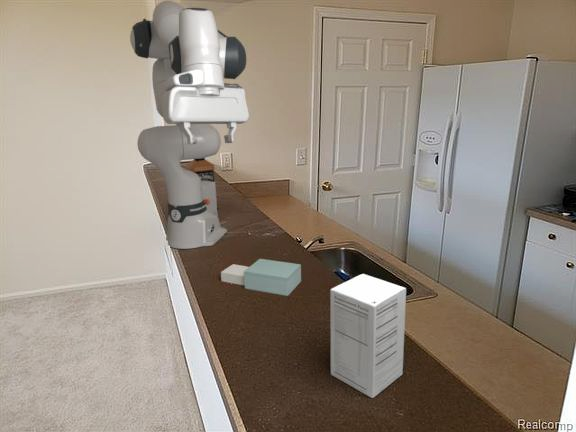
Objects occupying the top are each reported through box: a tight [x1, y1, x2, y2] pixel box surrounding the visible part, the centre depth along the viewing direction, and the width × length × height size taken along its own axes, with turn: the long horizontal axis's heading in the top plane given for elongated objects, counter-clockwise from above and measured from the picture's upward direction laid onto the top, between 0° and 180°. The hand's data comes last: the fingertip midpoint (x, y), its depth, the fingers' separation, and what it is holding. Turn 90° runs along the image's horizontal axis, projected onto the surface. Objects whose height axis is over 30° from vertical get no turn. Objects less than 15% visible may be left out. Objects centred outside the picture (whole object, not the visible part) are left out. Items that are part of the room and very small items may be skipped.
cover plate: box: [220, 263, 250, 287], centre depth 115 cm, size 6×14×3 cm, turn 64°
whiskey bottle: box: [185, 158, 219, 209], centre depth 181 cm, size 10×10×32 cm
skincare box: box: [201, 181, 219, 218], centre depth 166 cm, size 8×7×16 cm
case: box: [244, 258, 302, 297], centre depth 112 cm, size 9×12×5 cm
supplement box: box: [329, 273, 407, 399], centre depth 74 cm, size 10×9×17 cm
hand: (211, 143), depth 98 cm, fingers open, 8 cm apart
